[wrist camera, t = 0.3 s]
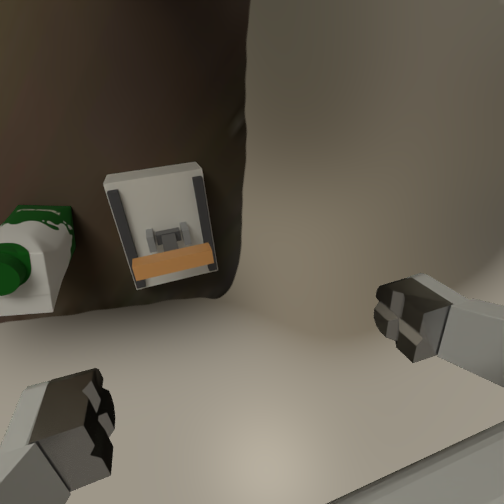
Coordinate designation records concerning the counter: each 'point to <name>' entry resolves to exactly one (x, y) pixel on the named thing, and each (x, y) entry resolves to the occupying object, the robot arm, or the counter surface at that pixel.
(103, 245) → the counter surface
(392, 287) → the robot arm
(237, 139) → the counter surface
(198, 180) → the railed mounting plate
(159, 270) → the lever
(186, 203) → the box
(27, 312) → the milk carton
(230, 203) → the counter surface
